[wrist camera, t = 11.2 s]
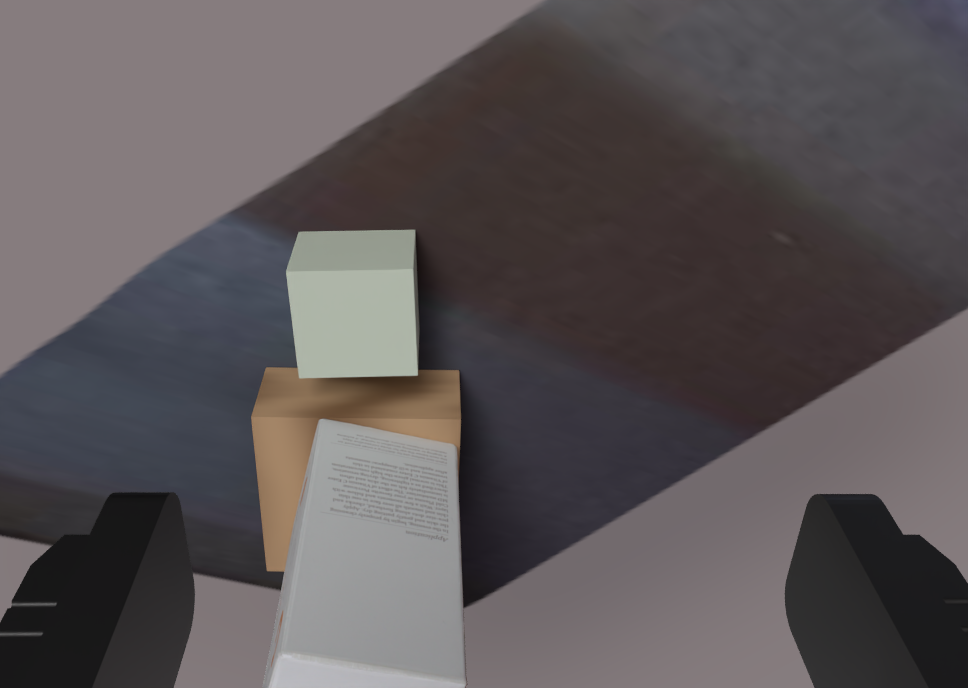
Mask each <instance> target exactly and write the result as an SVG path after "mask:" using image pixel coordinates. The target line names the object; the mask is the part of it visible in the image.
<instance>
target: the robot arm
mask: <svg viewBox="0 0 968 688" xmlns="http://www.w3.org/2000/svg"><path fill="white" fill-rule="evenodd" d="M194 601H195V589H194V579H193V573H192V567H191V562H190V556H189V550H188V545H187V539H186V533H185V528H184V522H183V516H182V511H181V505H180V501H179V498H178V496H177V495H176V494H175V493H173V492H115V493H112V494H110V495H109V497H108V498H107V500H106V501H105V503H104V505H103V508H102V510H101V512H100V514H99V516H98V518H97V520H96V522H95V524H94V526H93V529H92V531H91V533H90V535H64V536H63V537H61V538H60V539H59V540H58V541H57V542H56V543H55V544H54V545H53V546H52V547H50V548H49V549H48V550H47V551H46V552H45V553H44V554H43V555H42V556H41V557H40V558H38V559H37V560H36V561H35V562H34V563H33V564H32V565H31V566H30V568H29V570H28V571H27V573H26V575H25V577H24V579H23V581H22V583H21V584H20V587H19V588H18V590H17V592H16V594H15V596H14V598H13V599H12V607H11V608H9V609H7V611H6V613H5V614H4V616H3V618H2V620H1V622H0V688H174V684H175V681H176V678H177V674H178V671H179V668H180V664H181V661H182V658H183V654H184V651H185V648H186V644H187V641H188V638H189V634H190V631H191V626H192V621H193V614H194ZM785 606H786V614H787V618H788V623H789V626H790V629H791V632H792V635H793V637H794V639H795V642H796V644H797V646H798V649H799V651H800V654H801V656H802V659H803V661H804V663H805V666H806V668H807V671H808V673H809V675H810V678H811V680H812V683H813V685H814V687H815V688H968V583H967V582H966V580H965V579H964V577H963V576H962V574H961V573H960V571H959V570H958V568H957V567H956V565H955V564H954V563H953V562H952V561H950V560H949V559H948V558H947V557H946V556H944V555H943V554H942V553H941V552H939V551H938V550H937V549H936V548H935V547H934V546H932V545H931V544H930V543H929V542H927V541H926V540H925V539H924V538H923V537H921V536H920V535H903V534H902V532H901V530H900V529H899V527H898V526H897V524H896V522H895V521H894V519H893V517H892V516H891V514H890V513H889V511H888V509H887V508H886V506H885V505H884V503H883V502H882V500H881V499H880V498H879V497H877V496H876V495H873V494H816V495H814V496H812V498H810V500H809V502H808V504H807V507H806V510H805V514H804V517H803V521H802V524H801V528H800V532H799V536H798V539H797V543H796V546H795V550H794V554H793V558H792V561H791V565H790V568H789V573H788V576H787V580H786V586H785Z"/></svg>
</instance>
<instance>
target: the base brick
mask: <svg viewBox="0 0 968 688" xmlns="http://www.w3.org/2000/svg"><path fill="white" fill-rule="evenodd" d="M251 419H252V429H253V439H254V449H255V458H256V468H257V478H258V488H259V498H260V508H261V517H262V527H263V537H264V547H265V557H266V566H267V571H285V566H286V561H287V555H288V550H289V544H290V539H291V534H292V529H293V524H294V520H295V516H296V511H297V507H298V503H299V499H300V494H301V490H302V486H303V481H304V477H305V473H306V469H307V465H308V461H309V457H310V452H311V448H312V444H313V440H314V436H315V432H316V428H317V425H318V422H319V420H320V419H329V420H334V421H339V422H345V423H350V424H356V425H360V426H366V427H371V428H375V429H380V430H385V431H390V432H395V433H399V434H404V435H410V436H415V437H420V438H425V439H430V440H435V441H440V442H445V443H451V444H454V445H455V446H456V447H457V458H458V483H459V458H460V432H461V406H460V379H459V370H418V376H380V377H336V378H299V374H298V368H271V367H266V370H265V373H264V376H263V380H262V383H261V386H260V390H259V393H258V396H257V400H256V403H255V406H254V410H253V413H252V416H251Z"/></svg>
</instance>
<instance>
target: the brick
mask: <svg viewBox="0 0 968 688" xmlns="http://www.w3.org/2000/svg"><path fill="white" fill-rule="evenodd" d="M286 275H287V283H288V292H289V300H290V308H291V316H292V325H293V333H294V341H295V349H296V357H297V366H298V374H299V378H336V377H380V376H418V357H419V307H418V283H417V258H416V234H415V230H378V231H321V232H299V233H298V236H297V239H296V242H295V245H294V248H293V252H292V255H291V258H290V261H289V264H288V267H287V270H286Z"/></svg>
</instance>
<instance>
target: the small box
mask: <svg viewBox="0 0 968 688" xmlns="http://www.w3.org/2000/svg"><path fill="white" fill-rule="evenodd" d="M466 686H467V678H466V660H465V635H464V613H463V586H462V563H461V537H460V513H459V486H458V458H457V447H456V446H455V445H454V444H451V443H445V442H440V441H435V440H430V439H425V438H420V437H415V436H410V435H404V434H399V433H395V432H390V431H385V430H380V429H375V428H371V427H366V426H360V425H356V424H350V423H345V422H339V421H334V420H329V419H320V420H319V422H318V425H317V428H316V432H315V436H314V440H313V444H312V448H311V452H310V457H309V461H308V465H307V469H306V473H305V477H304V481H303V486H302V490H301V494H300V499H299V503H298V507H297V511H296V516H295V520H294V524H293V529H292V534H291V539H290V544H289V550H288V555H287V561H286V566H285V572H284V578H283V583H282V589H281V594H280V600H279V605H278V610H277V616H276V621H275V626H274V631H273V637H272V642H271V647H270V652H269V657H268V662H267V667H266V672H265V677H264V682H263V687H262V688H466Z"/></svg>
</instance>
